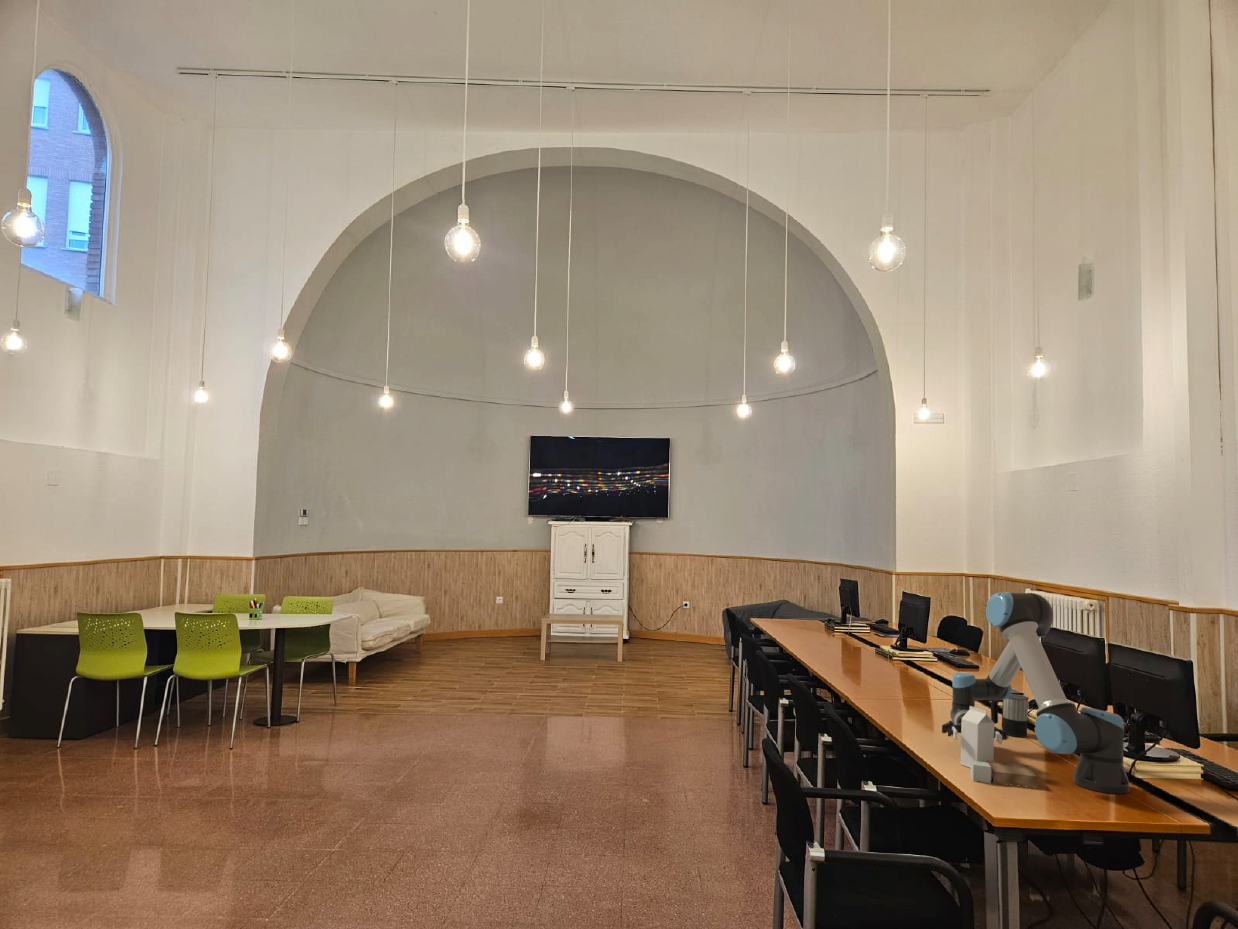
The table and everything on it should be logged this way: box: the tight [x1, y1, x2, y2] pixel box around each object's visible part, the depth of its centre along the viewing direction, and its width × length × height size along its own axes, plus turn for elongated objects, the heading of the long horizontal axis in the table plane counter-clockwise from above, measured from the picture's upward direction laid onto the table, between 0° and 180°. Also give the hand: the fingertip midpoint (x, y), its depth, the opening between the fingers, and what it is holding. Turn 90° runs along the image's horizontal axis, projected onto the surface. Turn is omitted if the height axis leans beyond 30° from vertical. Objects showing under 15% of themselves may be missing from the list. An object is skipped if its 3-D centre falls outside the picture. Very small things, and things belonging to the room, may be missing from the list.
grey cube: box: [969, 761, 992, 784], centre depth 257 cm, size 5×5×5 cm
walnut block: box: [986, 761, 1037, 788], centre depth 259 cm, size 12×12×4 cm
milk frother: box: [990, 693, 1030, 737], centre depth 319 cm, size 14×16×15 cm
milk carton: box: [960, 706, 995, 769], centre depth 272 cm, size 7×7×19 cm
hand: (978, 738), depth 270 cm, fingers open, 13 cm apart
